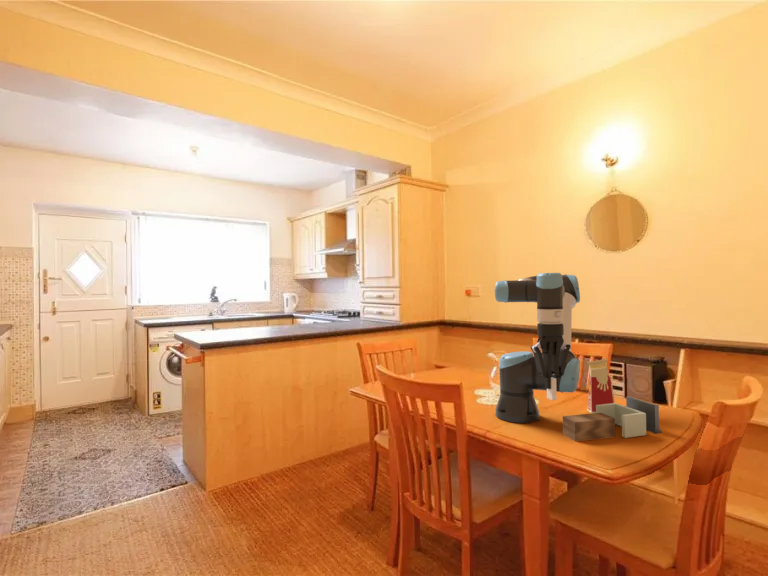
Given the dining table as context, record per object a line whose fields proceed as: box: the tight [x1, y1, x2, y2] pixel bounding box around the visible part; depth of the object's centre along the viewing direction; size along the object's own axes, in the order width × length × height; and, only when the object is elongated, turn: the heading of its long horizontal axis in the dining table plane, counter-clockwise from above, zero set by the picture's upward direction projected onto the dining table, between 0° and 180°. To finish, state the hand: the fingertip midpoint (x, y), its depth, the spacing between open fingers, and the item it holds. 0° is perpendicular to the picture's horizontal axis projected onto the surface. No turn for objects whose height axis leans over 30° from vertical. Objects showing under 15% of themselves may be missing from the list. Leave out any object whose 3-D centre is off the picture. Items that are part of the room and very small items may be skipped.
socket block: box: [596, 402, 647, 439], centre depth 132 cm, size 8×12×7 cm
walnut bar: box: [562, 413, 616, 442], centre depth 128 cm, size 14×6×6 cm, turn 101°
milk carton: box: [586, 358, 615, 414], centre depth 152 cm, size 9×9×20 cm
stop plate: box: [625, 395, 663, 435], centre depth 134 cm, size 2×11×9 cm, turn 14°
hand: (551, 398), depth 125 cm, fingers closed
